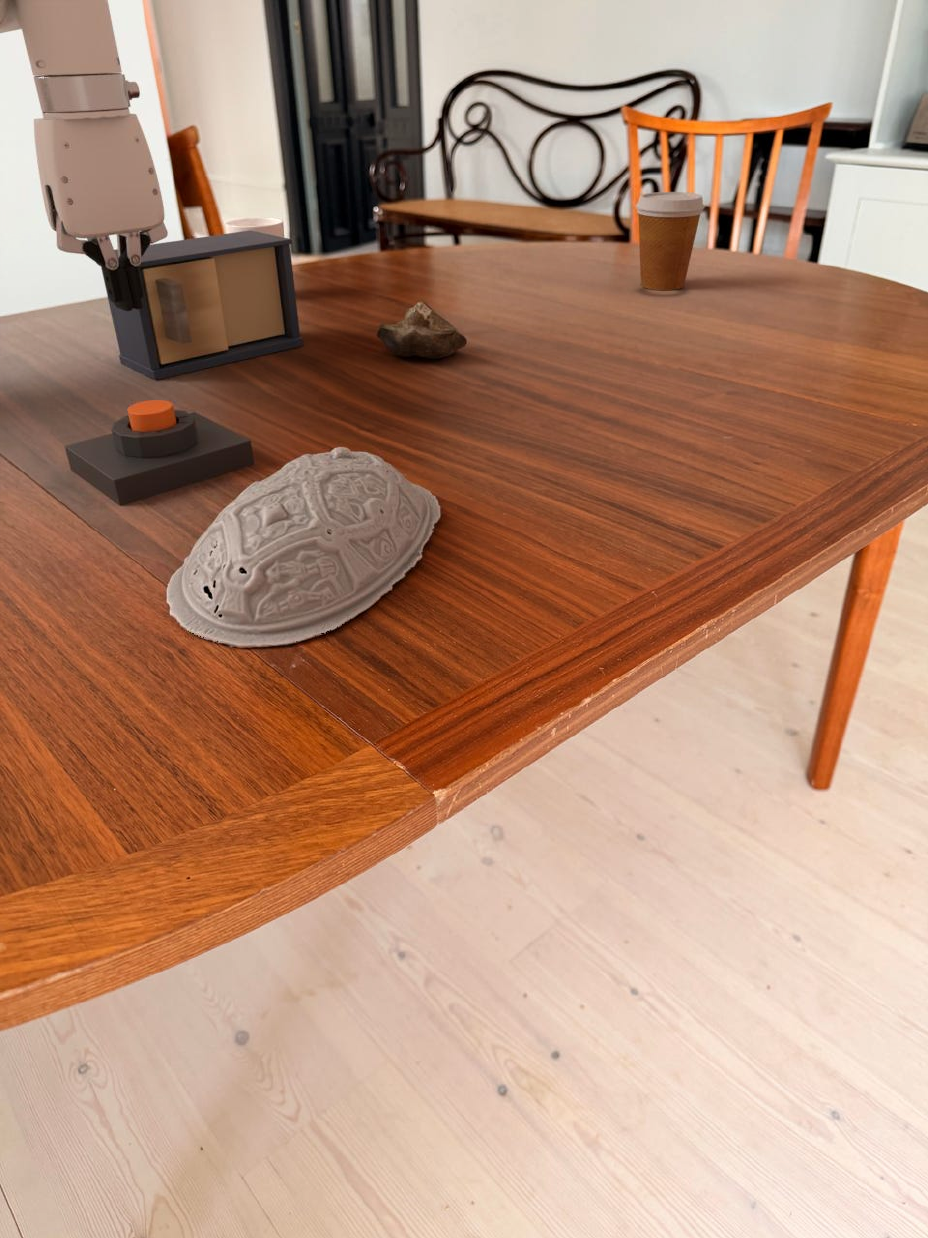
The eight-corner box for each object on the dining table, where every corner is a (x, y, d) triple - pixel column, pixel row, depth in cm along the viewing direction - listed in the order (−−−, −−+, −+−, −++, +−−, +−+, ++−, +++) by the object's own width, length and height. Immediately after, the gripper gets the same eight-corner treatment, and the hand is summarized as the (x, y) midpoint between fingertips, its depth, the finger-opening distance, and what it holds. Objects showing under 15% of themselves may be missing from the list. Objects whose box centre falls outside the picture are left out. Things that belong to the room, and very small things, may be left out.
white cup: (250, 305, 126) (240, 228, 121) (227, 295, 132) (216, 221, 126) (301, 296, 130) (292, 222, 125) (276, 287, 136) (267, 215, 130)
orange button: (143, 438, 73) (138, 417, 72) (124, 427, 75) (120, 406, 74) (184, 427, 75) (180, 406, 74) (164, 416, 77) (160, 396, 76)
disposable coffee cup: (626, 278, 137) (632, 191, 130) (689, 278, 136) (699, 190, 130) (633, 293, 129) (640, 201, 122) (700, 292, 128) (711, 200, 122)
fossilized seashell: (360, 338, 101) (436, 365, 98) (381, 281, 100) (459, 305, 97) (389, 357, 108) (461, 382, 105) (409, 304, 107) (482, 327, 104)
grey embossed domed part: (106, 611, 56) (94, 512, 52) (306, 477, 76) (307, 399, 72) (331, 682, 52) (334, 580, 48) (478, 521, 72) (487, 441, 69)
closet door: (176, 371, 96) (158, 274, 91) (158, 363, 99) (139, 267, 93) (244, 356, 100) (231, 262, 95) (225, 348, 103) (210, 256, 98)
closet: (155, 380, 98) (131, 263, 91) (120, 363, 103) (95, 252, 97) (303, 345, 108) (291, 238, 102) (264, 332, 114) (250, 229, 108)
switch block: (120, 506, 70) (108, 458, 68) (70, 470, 77) (58, 425, 75) (254, 464, 77) (248, 419, 75) (198, 434, 83) (191, 392, 81)
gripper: (143, 94, 88) (179, 289, 98) (-16, 102, 80) (41, 315, 90) (178, 95, 83) (213, 300, 93) (12, 103, 75) (70, 328, 85)
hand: (128, 307), depth 91 cm, fingers closed
